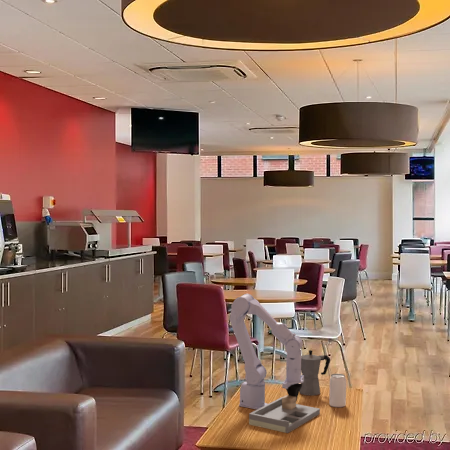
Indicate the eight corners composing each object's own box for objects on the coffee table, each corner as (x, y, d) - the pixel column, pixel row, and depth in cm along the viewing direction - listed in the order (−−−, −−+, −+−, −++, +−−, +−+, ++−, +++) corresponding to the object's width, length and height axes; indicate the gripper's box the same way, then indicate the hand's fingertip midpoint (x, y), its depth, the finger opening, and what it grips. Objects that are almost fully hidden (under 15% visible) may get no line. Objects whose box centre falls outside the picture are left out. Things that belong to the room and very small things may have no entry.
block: (281, 407, 283) (282, 397, 283) (286, 405, 286) (286, 395, 286) (291, 409, 281) (291, 399, 281) (295, 407, 284) (296, 396, 284)
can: (345, 408, 290) (346, 378, 289) (328, 407, 291) (329, 377, 291) (346, 403, 296) (346, 373, 296) (329, 402, 298) (330, 372, 297)
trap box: (248, 424, 270) (249, 413, 269) (282, 406, 291) (283, 396, 291) (287, 433, 261) (288, 422, 261) (319, 413, 283) (320, 403, 283)
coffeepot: (298, 396, 305) (299, 353, 304) (291, 390, 314) (292, 348, 313) (333, 394, 308) (334, 352, 307) (325, 388, 317) (326, 347, 316)
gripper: (294, 373, 277) (293, 409, 278) (311, 365, 290) (310, 399, 290) (277, 370, 281) (277, 406, 282) (295, 363, 293) (294, 396, 294)
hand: (293, 402), depth 286 cm, fingers closed
